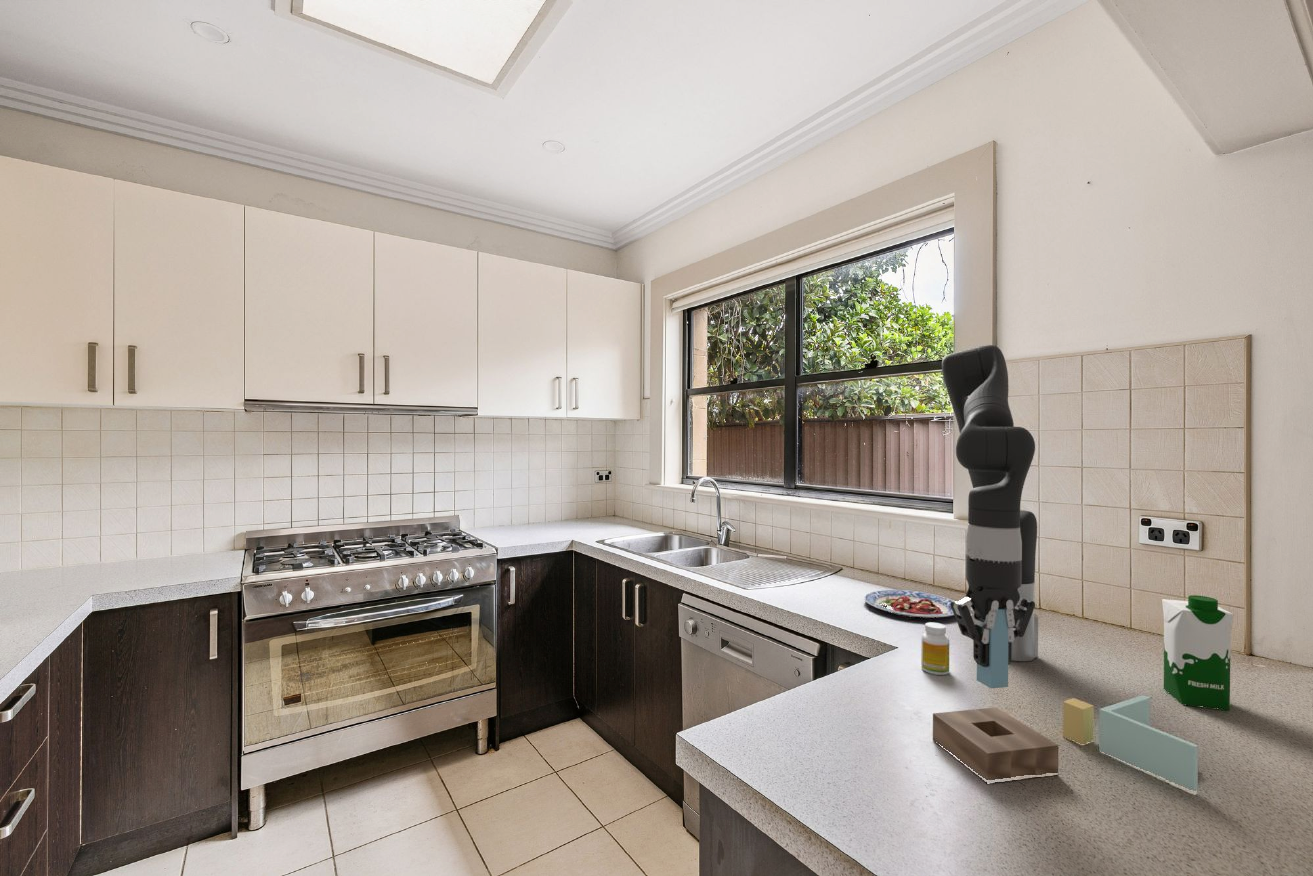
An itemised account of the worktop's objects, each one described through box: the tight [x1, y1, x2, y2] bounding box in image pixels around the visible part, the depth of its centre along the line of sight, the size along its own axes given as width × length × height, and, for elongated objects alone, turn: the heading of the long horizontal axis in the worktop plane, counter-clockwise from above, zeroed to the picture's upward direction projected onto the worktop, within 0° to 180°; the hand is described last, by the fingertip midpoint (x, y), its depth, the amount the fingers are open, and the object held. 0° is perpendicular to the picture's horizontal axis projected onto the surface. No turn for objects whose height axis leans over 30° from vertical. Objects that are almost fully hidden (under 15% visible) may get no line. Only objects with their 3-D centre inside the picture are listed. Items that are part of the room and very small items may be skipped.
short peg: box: [1062, 697, 1095, 744], centre depth 95 cm, size 3×3×6 cm
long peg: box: [976, 609, 1009, 689], centre depth 90 cm, size 3×3×12 cm
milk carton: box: [1161, 594, 1235, 711], centre depth 109 cm, size 9×9×20 cm
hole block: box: [932, 706, 1060, 780], centre depth 90 cm, size 12×12×4 cm
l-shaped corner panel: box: [1098, 694, 1199, 791], centre depth 88 cm, size 12×12×8 cm
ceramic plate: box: [864, 589, 954, 619], centre depth 166 cm, size 26×26×3 cm
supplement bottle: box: [920, 621, 950, 676], centre depth 123 cm, size 5×5×10 cm
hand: (992, 663), depth 90 cm, fingers closed on long peg, 3 cm apart
